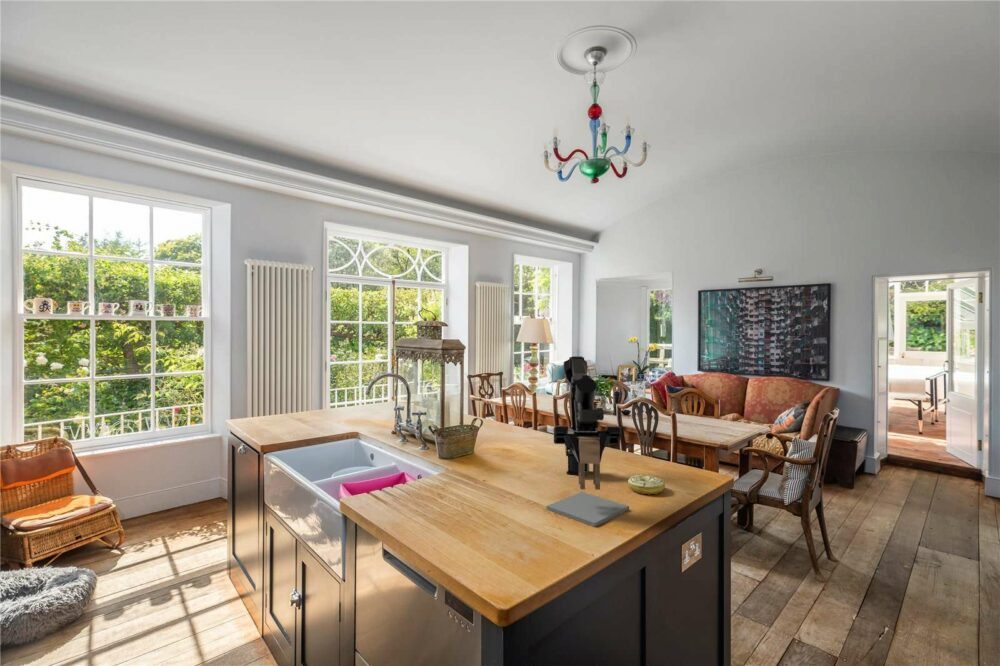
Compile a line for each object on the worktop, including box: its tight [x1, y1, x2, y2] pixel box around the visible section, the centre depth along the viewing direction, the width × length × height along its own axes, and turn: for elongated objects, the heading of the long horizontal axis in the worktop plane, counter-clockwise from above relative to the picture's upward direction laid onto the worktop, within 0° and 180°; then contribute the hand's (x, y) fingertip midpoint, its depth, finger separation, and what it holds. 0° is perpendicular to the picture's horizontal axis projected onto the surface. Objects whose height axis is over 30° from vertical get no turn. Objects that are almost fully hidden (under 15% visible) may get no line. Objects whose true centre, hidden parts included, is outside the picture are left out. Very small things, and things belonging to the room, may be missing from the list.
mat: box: [546, 491, 630, 528], centre depth 127 cm, size 16×16×1 cm
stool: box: [578, 437, 601, 491], centre depth 127 cm, size 5×5×13 cm
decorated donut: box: [627, 474, 665, 496], centre depth 142 cm, size 10×11×4 cm
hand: (589, 461), depth 126 cm, fingers closed on stool, 5 cm apart
